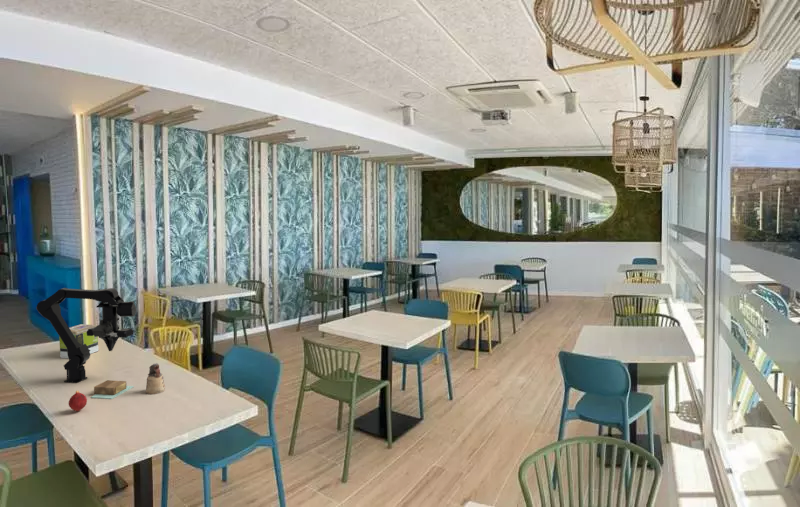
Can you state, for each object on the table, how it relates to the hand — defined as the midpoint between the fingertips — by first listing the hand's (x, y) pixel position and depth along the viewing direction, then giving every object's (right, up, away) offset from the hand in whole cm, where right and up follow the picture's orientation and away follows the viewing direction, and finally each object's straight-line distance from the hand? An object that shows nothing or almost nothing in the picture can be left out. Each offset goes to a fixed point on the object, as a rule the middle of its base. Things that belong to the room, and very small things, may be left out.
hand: (110, 350), depth 220 cm
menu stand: (+5, -12, -15) cm, 20 cm away
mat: (+10, -14, -15) cm, 23 cm away
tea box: (-38, -10, +37) cm, 54 cm away
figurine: (+27, -15, -12) cm, 33 cm away
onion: (+8, -16, -35) cm, 39 cm away
